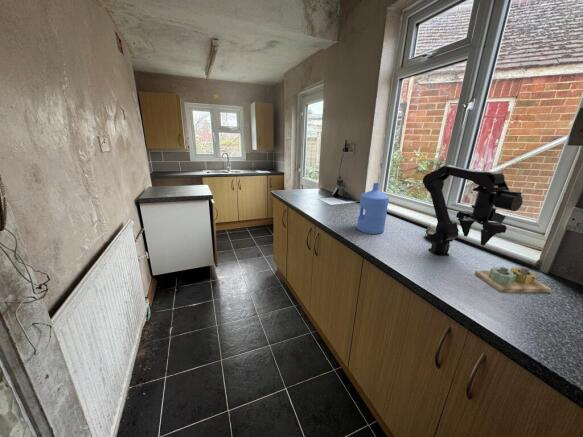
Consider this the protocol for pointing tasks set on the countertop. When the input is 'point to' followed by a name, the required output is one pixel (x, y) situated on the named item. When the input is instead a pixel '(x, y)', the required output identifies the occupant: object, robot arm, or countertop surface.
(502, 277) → the green gear
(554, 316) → the countertop surface
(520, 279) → the brass gear
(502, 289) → the gear board
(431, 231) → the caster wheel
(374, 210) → the water jug
